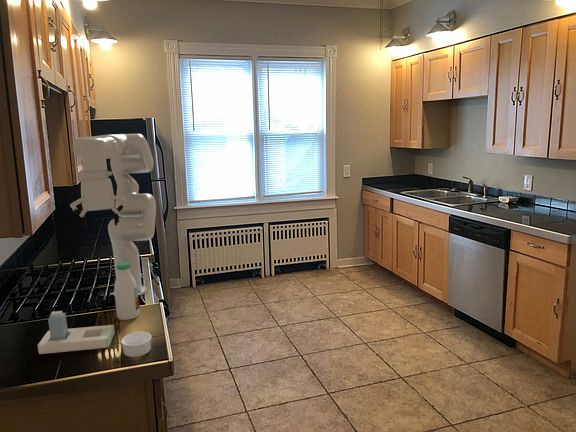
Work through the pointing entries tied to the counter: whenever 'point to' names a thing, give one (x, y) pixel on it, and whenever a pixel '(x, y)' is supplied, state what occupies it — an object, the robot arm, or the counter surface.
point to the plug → (58, 326)
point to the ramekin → (136, 344)
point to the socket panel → (78, 340)
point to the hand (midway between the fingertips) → (100, 226)
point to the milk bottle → (126, 293)
